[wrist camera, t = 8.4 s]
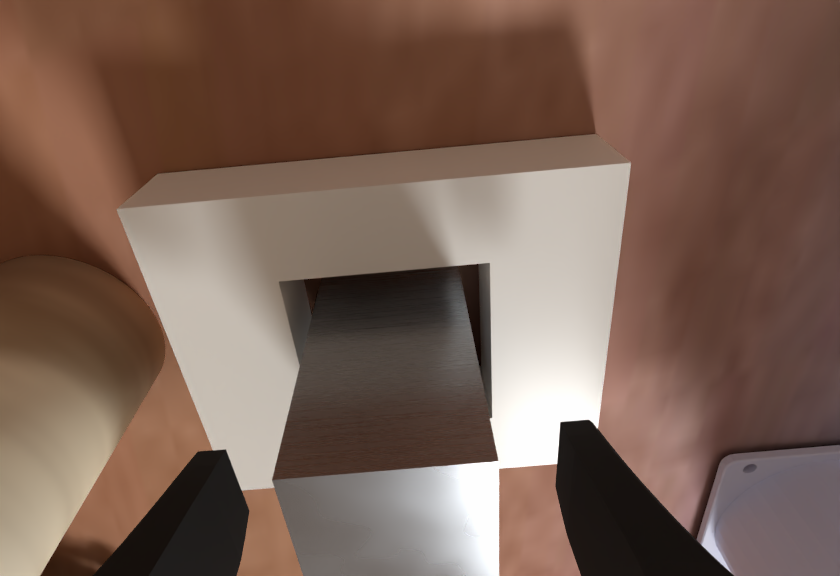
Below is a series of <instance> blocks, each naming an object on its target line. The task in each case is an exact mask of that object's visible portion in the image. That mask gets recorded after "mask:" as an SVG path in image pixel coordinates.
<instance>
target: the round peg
mask: <svg viewBox="0 0 840 576" xmlns="http://www.w3.org/2000/svg"><path fill="white" fill-rule="evenodd" d="M164 358H165V341H164V336H163V333H162V330H161V327H160V325H159V323H158V321H157V319H156V317H155V315H154V314H153V312H152V311H151V309H150V308H149V307H148V305H147V304H146V303H145V302H144V301H143V299H142V298H141V297H140V296H138V295H137V294H136V293H135V292H134V291H133V290H132V289H131V288H130V287H128V286H127V285H126V284H124V283H123V282H122V281H120V280H119V279H117V278H115V277H114V276H112V275H111V274H109V273H107V272H105V271H103V270H101V269H99V268H97V267H94V266H92V265H89V264H87V263H84V262H80V261H77V260H73V259H69V258H64V257H59V256H48V255H34V256H25V257H18V258H15V259H12V260H8V261H6V262H4V263H1V264H0V576H40V575H41V573H42V572H43V570H44V568H45V567H46V565H47V563H48V561H49V560H50V558H51V556H52V555H53V553H54V551H55V550H56V548H57V546H58V544H59V543H60V541H61V539H62V538H63V536H64V534H65V533H66V531H67V529H68V527H69V526H70V524H71V522H72V521H73V519H74V517H75V516H76V514H77V512H78V510H79V509H80V507H81V505H82V504H83V502H84V500H85V499H86V497H87V495H88V493H89V492H90V490H91V488H92V487H93V485H94V483H95V482H96V480H97V478H98V476H99V475H100V473H101V471H102V470H103V468H104V466H105V465H106V463H107V461H108V459H109V458H110V456H111V454H112V453H113V451H114V449H115V447H116V446H117V444H118V442H119V441H120V439H121V437H122V436H123V434H124V432H125V430H126V429H127V427H128V425H129V424H130V422H131V420H132V419H133V417H134V415H135V413H136V412H137V410H138V408H139V407H140V405H141V403H142V402H143V400H144V398H145V396H146V395H147V393H148V391H149V390H150V388H151V386H152V385H153V383H154V381H155V379H156V378H157V376H158V374H159V373H160V371H161V368H162V366H163V363H164Z"/></svg>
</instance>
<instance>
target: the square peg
mask: <svg viewBox="0 0 840 576" xmlns="http://www.w3.org/2000/svg"><path fill="white" fill-rule="evenodd" d="M272 482H273V485H274V488H275V491H276V494H277V497H278V500H279V503H280V506H281V509H282V512H283V515H284V518H285V521H286V524H287V527H288V530H289V533H290V537H291V540H292V543H293V546H294V549H295V552H296V555H297V558H298V561H299V564H300V567H301V570H302V573H303V576H499V461H498V456H497V451H496V446H495V441H494V436H493V431H492V427H491V422H490V417H489V412H488V407H487V402H486V397H485V393H484V388H483V383H482V378H481V373H480V368H479V363H478V359H477V354H476V349H475V344H474V339H473V334H472V330H471V325H470V320H469V315H468V310H467V305H466V300H465V296H464V291H463V286H462V281H461V276H460V271H459V266H448V267H437V268H426V269H414V270H403V271H392V272H381V273H369V274H358V275H347V276H335V277H324V278H321V281H320V285H319V290H318V294H317V298H316V302H315V306H314V310H313V314H312V318H311V322H310V326H309V330H308V335H307V339H306V343H305V347H304V351H303V355H302V359H301V363H300V367H299V371H298V375H297V380H296V384H295V388H294V392H293V396H292V400H291V404H290V408H289V412H288V416H287V421H286V425H285V429H284V433H283V437H282V441H281V445H280V449H279V453H278V457H277V461H276V466H275V470H274V474H273V478H272Z"/></svg>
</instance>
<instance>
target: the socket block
mask: <svg viewBox="0 0 840 576" xmlns="http://www.w3.org/2000/svg"><path fill="white" fill-rule="evenodd" d="M630 169H631V162H630V161H629V160H627V159H626V158H625V157H624V156H623V155H621V154H620V153H619V152H618V151H617V150H615V149H614V148H613V147H612V146H611V145H609V144H608V143H607V142H606V141H604V140H603V139H602V138H601V137H600V136H598V135H597V134H591V135H579V136H568V137H557V138H546V139H535V140H524V141H513V142H502V143H491V144H480V145H469V146H458V147H447V148H436V149H425V150H414V151H403V152H392V153H381V154H370V155H359V156H348V157H337V158H326V159H315V160H304V161H293V162H282V163H271V164H260V165H249V166H238V167H227V168H216V169H205V170H194V171H183V172H172V173H161V174H157V175H156V176H154V177H153V178H152V179H151V180H150V181H149V182H147V183H146V184H145V185H144V186H143V187H142V188H140V189H139V190H138V191H137V192H136V193H135V194H133V195H132V196H131V197H130V198H129V199H128V200H126V201H125V202H124V203H123V204H122V205H121V206H119V207H118V208H117V212H118V214H119V217H120V219H121V222H122V224H123V227H124V229H125V232H126V234H127V237H128V239H129V242H130V244H131V247H132V249H133V252H134V254H135V257H136V259H137V262H138V264H139V267H140V269H141V272H142V274H143V277H144V279H145V282H146V284H147V287H148V289H149V292H150V294H151V297H152V299H153V302H154V304H155V307H156V309H157V312H158V314H159V317H160V319H161V322H162V324H163V327H164V329H165V332H166V334H167V337H168V339H169V342H170V344H171V347H172V349H173V352H174V354H175V356H176V359H177V361H178V364H179V366H180V369H181V371H182V374H183V376H184V379H185V381H186V384H187V386H188V389H189V391H190V394H191V396H192V399H193V401H194V404H195V406H196V409H197V411H198V414H199V416H200V419H201V421H202V424H203V426H204V429H205V431H206V434H207V436H208V439H209V441H210V444H211V446H212V449H213V450H225V449H226V451H227V454H228V456H229V459H230V461H231V464H232V467H233V469H234V472H235V475H236V477H237V480H238V482H239V485H240V488H241V490H252V489H264V488H274V485H273V482H272V478H273V474H274V470H275V466H276V461H277V457H278V453H279V449H280V445H281V441H282V437H283V433H284V429H285V425H286V421H287V416H288V412H289V408H290V404H291V400H292V396H293V392H294V388H295V384H296V380H297V375H298V371H299V367H300V363H301V359H302V355H303V351H304V347H305V343H306V339H307V335H308V330H309V326H310V322H311V318H312V315H311V310H310V306H309V301H308V297H307V292H306V288H305V283H304V279H313V278H324V277H335V276H347V275H358V274H369V273H381V272H392V271H403V270H414V269H426V268H437V267H448V266H460V265H471V264H478V266H479V302H480V339H481V366H479V368H480V373H481V378H482V383H483V388H484V393H485V397H486V402H487V407H488V412H489V417H490V422H491V427H492V431H493V436H494V441H495V446H496V451H497V456H498V461H499V469H501V468H512V467H524V466H536V465H548V464H557V460H558V446H559V433H560V422H565V421H578V420H590V421H591V422H593V423H594V425H595V426H596V427H597V428H598V422H599V414H600V407H601V399H602V391H603V383H604V375H605V367H606V359H607V351H608V343H609V335H610V327H611V319H612V311H613V303H614V296H615V288H616V280H617V272H618V264H619V256H620V248H621V240H622V232H623V224H624V216H625V208H626V200H627V192H628V185H629V177H630Z"/></svg>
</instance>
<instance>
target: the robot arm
mask: <svg viewBox="0 0 840 576" xmlns="http://www.w3.org/2000/svg"><path fill="white" fill-rule="evenodd" d="M556 490H557V495H558V499H559V503H560V508H561V512H562V516H563V520H564V525H565V529H566V533H567V536H568V539H569V542H570V545H571V548H572V551H573V553H574V556H575V559H576V562H577V565H578V568H579V571H580V574H581V576H840V445H832V446H820V447H808V448H797V449H785V450H773V451H761V452H749V453H737V454H731V455H728V456H726V457H724V458H723V459H722V460H721V462H720V464H719V467H718V471H717V474H716V477H715V480H714V484H713V487H712V490H711V494H710V497H709V500H708V504H707V507H706V510H705V513H704V517H703V520H702V523H701V527H700V530H699V533H698V536H697V540H696V539H695V538H694V537H693V536H692V535H691V534H690V533H689V532H688V531H687V530H686V529H685V528H684V527H683V526H682V525H681V524H680V523H679V522H678V521H677V520H676V519H675V518H674V517H673V516H672V515H671V514H670V513H669V511H668V510H667V509H666V508H665V507H664V506H663V505H662V504H661V503H660V502H659V501H658V500H657V498H656V497H655V496H654V495H653V494H652V493H651V492H650V491H649V490H648V489H647V487H646V486H645V485H644V484H643V483H642V482H641V481H640V480H639V478H638V477H637V476H636V475H635V474H634V473H633V472H632V470H631V469H630V468H629V467H628V466H627V464H626V463H625V462H624V461H623V460H622V458H621V457H620V456H619V455H618V454H617V452H616V451H615V450H614V449H613V447H612V446H611V445H610V444H609V442H608V441H607V440H606V439H605V437H604V436H603V435H602V434H601V432H600V431H599V430H598V428H597V427H596V426H595V425H594V423H593V422H591V421H590V420H578V421H565V422H560V433H559V446H558V460H557V474H556ZM248 516H249V509H248V506H247V504H246V501H245V498H244V496H243V493H242V490H241V488H240V485H239V482H238V480H237V477H236V475H235V472H234V469H233V467H232V464H231V461H230V459H229V456H228V454H227V451H226V449H225V450H212V451H200V452H197V453H196V455H195V456H194V457H193V458H192V459H191V461H190V462H189V463H188V464H187V465H186V467H185V468H184V469H183V470H182V471H181V473H180V474H179V475H178V476H177V478H176V479H175V480H174V481H173V482H172V484H171V485H170V486H169V487H168V489H167V490H166V491H165V492H164V494H163V495H162V496H161V497H160V498H159V500H158V501H157V502H156V503H155V505H154V506H153V507H152V508H151V509H150V511H149V512H148V513H147V514H146V515H145V517H144V518H143V519H142V520H141V521H140V523H139V524H138V525H137V526H136V527H135V528H134V530H133V531H132V532H131V533H130V534H129V536H128V537H127V538H126V539H125V540H124V541H123V543H122V544H121V545H120V546H119V547H118V548H117V550H116V551H115V552H114V553H113V554H112V555H111V556H110V557H109V558H108V560H107V561H106V562H105V563H104V564H103V565H102V566H101V567H100V568H99V569H98V571H97V572H96V573H95V574H94V575H93V576H237V572H238V568H239V565H240V561H241V557H242V551H243V546H244V540H245V535H246V528H247V522H248Z"/></svg>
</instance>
